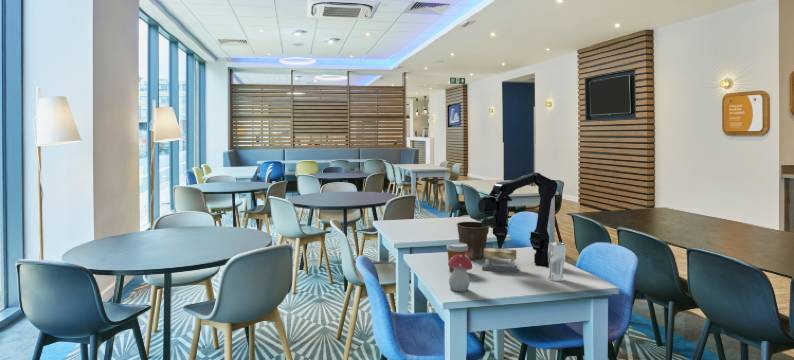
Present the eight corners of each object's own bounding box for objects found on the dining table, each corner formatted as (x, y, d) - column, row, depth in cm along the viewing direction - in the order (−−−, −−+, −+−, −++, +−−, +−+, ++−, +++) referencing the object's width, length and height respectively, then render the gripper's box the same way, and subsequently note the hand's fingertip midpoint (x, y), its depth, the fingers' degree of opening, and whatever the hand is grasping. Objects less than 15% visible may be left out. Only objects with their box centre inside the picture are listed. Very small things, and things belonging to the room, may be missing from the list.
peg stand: (517, 268, 217) (517, 256, 216) (517, 272, 210) (517, 260, 209) (483, 266, 220) (483, 254, 220) (482, 270, 213) (482, 257, 213)
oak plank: (516, 256, 216) (516, 249, 215) (516, 259, 210) (516, 252, 210) (484, 254, 219) (484, 248, 219) (483, 257, 213) (483, 250, 213)
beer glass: (564, 278, 202) (565, 242, 201) (564, 282, 195) (565, 246, 194) (547, 276, 204) (548, 241, 203) (546, 280, 198) (547, 244, 196)
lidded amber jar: (470, 270, 213) (471, 243, 212) (464, 275, 204) (464, 247, 203) (449, 267, 217) (450, 241, 216) (442, 273, 208) (443, 245, 207)
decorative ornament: (474, 289, 185) (475, 251, 184) (466, 294, 180) (467, 254, 178) (453, 285, 190) (453, 248, 189) (444, 289, 185) (445, 251, 184)
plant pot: (491, 261, 229) (492, 227, 228) (457, 260, 230) (458, 227, 228) (486, 253, 246) (486, 221, 244) (454, 252, 246) (454, 221, 245)
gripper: (483, 207, 224) (482, 241, 225) (481, 213, 206) (480, 249, 207) (508, 208, 221) (507, 242, 222) (507, 214, 203) (506, 251, 204)
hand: (500, 246), depth 214 cm, fingers open, 9 cm apart
